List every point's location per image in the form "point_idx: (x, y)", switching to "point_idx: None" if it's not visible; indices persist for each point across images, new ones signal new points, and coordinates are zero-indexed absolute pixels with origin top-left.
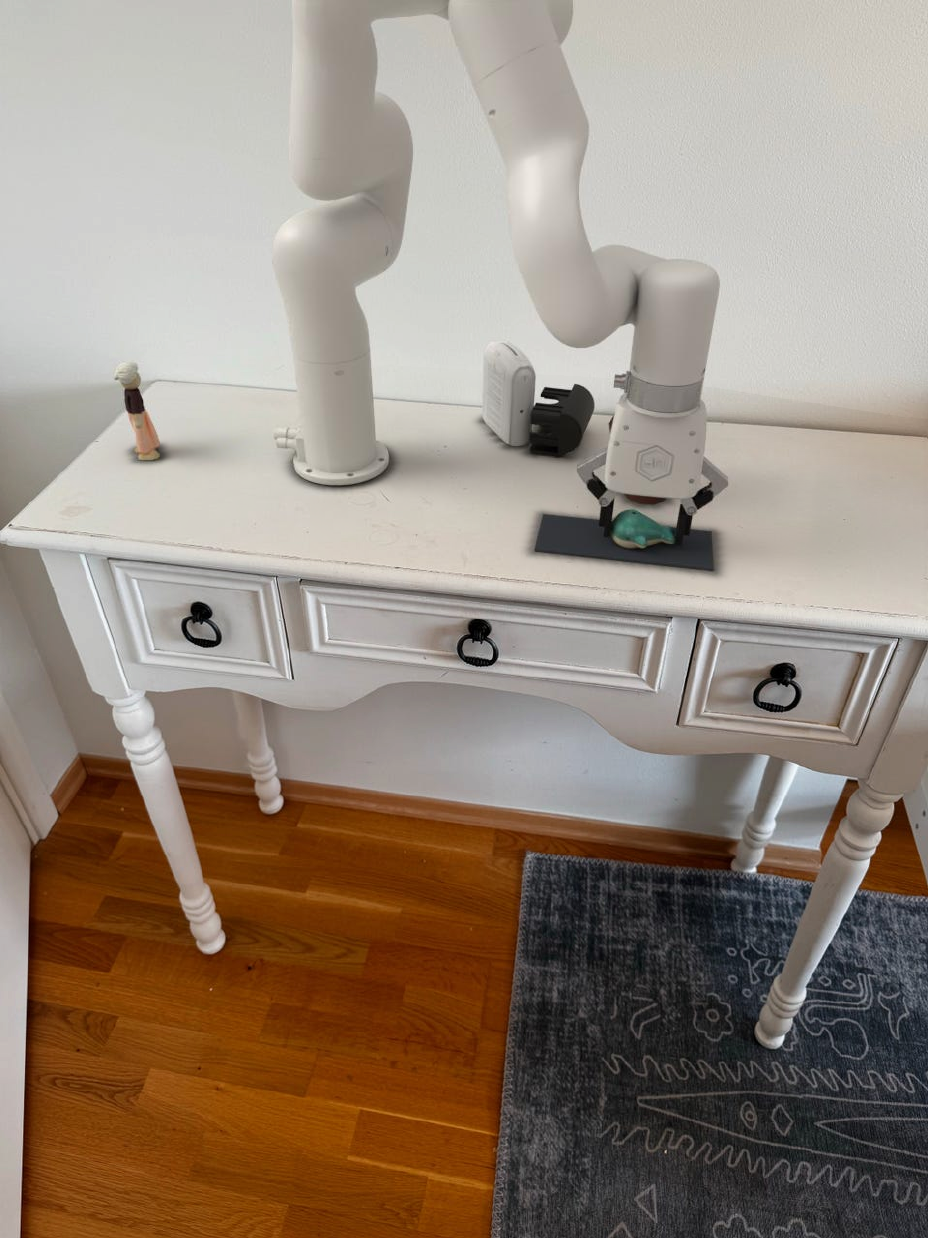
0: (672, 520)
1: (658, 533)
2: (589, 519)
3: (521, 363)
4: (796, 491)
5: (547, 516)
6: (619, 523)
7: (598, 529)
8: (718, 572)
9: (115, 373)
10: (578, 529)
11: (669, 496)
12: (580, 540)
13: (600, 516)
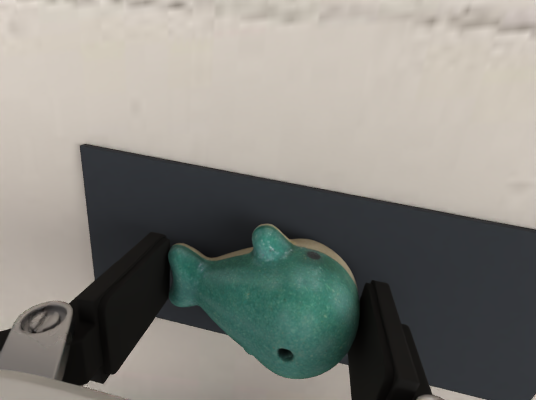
0: (185, 349)
1: (212, 274)
2: None
3: None
4: None
5: (515, 397)
6: (343, 315)
7: None
8: (72, 138)
9: None
10: (437, 337)
11: (60, 397)
12: (447, 289)
13: (416, 354)
